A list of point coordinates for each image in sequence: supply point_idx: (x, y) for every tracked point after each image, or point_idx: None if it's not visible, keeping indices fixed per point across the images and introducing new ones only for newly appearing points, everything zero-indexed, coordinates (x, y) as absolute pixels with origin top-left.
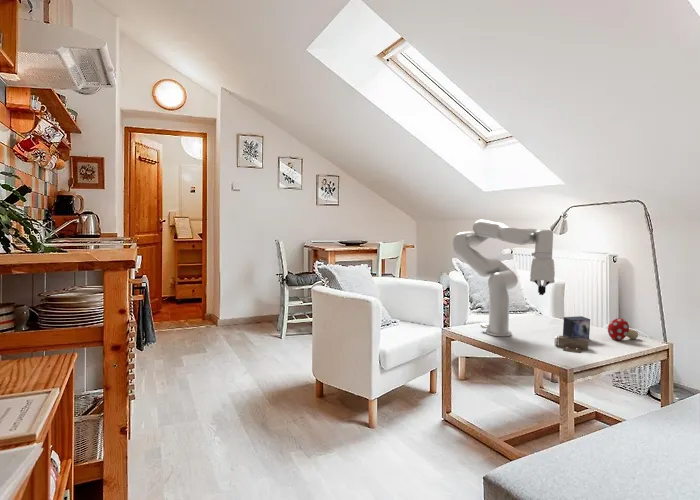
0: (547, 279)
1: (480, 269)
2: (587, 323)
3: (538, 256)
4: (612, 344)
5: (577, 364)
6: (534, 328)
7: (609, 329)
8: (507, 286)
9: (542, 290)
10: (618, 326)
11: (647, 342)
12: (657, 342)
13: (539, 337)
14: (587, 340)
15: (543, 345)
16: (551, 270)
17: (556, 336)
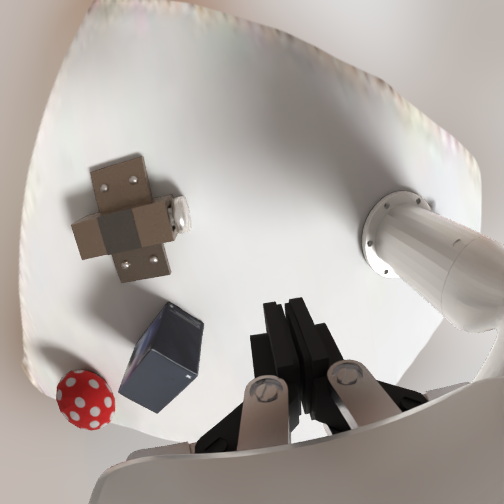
0: (193, 473)
1: None
2: (124, 375)
3: None
4: (76, 330)
5: (79, 47)
6: None
7: (98, 392)
8: None
9: (276, 332)
10: (71, 393)
11: (52, 382)
12: (45, 389)
13: (269, 278)
14: (75, 233)
15: (222, 175)
16: None
17: (178, 217)
